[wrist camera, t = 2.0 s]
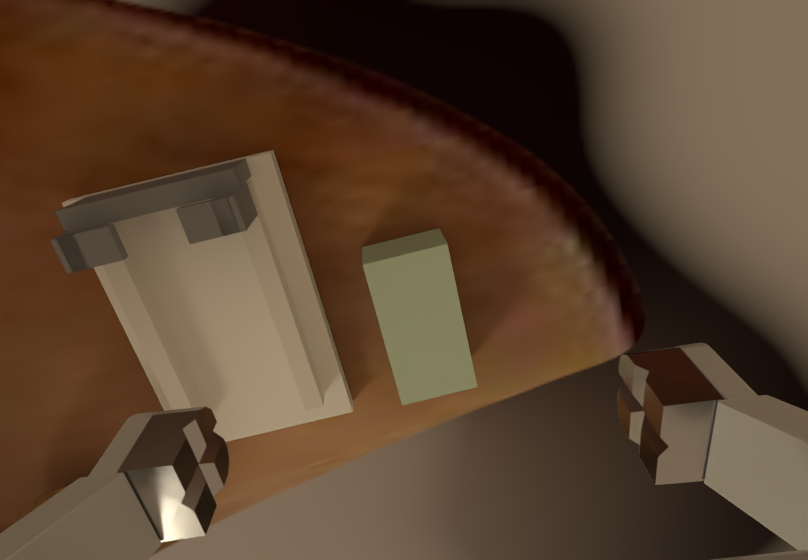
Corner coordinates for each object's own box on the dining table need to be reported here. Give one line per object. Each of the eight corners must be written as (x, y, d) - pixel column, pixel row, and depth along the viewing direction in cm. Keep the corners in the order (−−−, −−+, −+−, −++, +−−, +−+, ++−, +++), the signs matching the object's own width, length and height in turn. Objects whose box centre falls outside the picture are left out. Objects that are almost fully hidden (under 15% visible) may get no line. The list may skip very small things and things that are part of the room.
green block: (466, 359, 36) (477, 386, 33) (398, 375, 37) (402, 405, 33) (438, 226, 33) (447, 243, 29) (362, 245, 33) (362, 264, 30)
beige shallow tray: (353, 401, 37) (351, 457, 31) (189, 440, 37) (160, 502, 31) (273, 149, 30) (254, 166, 24) (72, 198, 30) (10, 225, 25)
